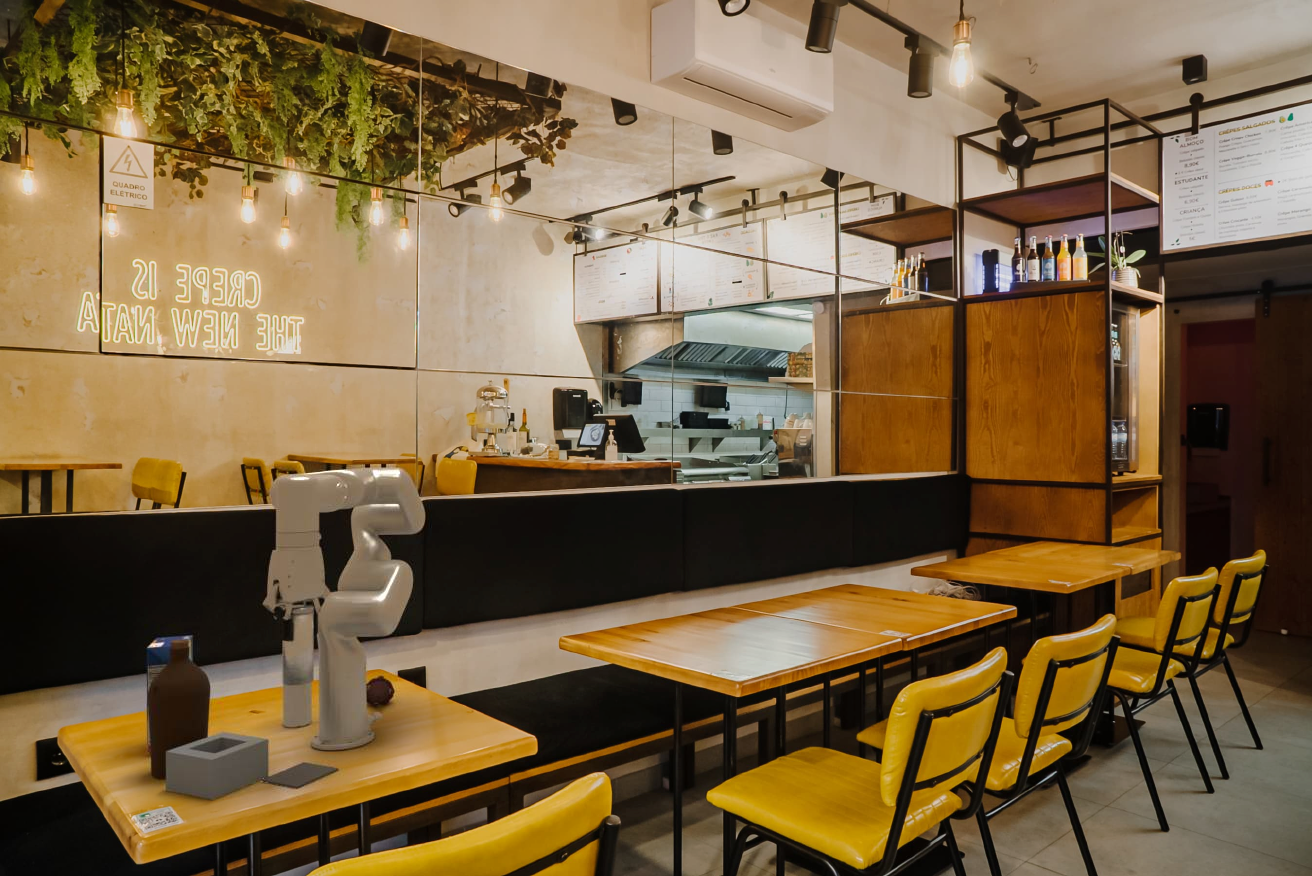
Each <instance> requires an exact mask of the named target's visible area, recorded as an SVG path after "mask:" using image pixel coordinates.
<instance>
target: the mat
mask: <svg viewBox="0 0 1312 876" xmlns="http://www.w3.org/2000/svg"><path fill="white" fill-rule="evenodd" d="M338 771H339V767H335V766H327V765H323V764H315V763H311V762H305V761H303V762H301V763H298V764H296V765H293V766H291V767H288V768H286V769H284V770H282V771H279V772H276V773H275V774H274V773H273V774H272V775H268V777H266V778H264V779H262V780H260V781H263V782H262V783H264V782H268V783H267V784H269V783H273V784H272V785H274V784H278V785H277V786H280V785H282V786H281V787H285V786H286V788H292V789H295V788H296V789H300V788H303V787H304V786H307V785H308V784H312V783H313V782H316V781H318V780H320V779H322V778H325V777H327V776H329V775H332V774H333V773H336V772H338ZM296 789H295V790H296Z"/></svg>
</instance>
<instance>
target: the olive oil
mask: <svg viewBox="0 0 1312 876" xmlns="http://www.w3.org/2000/svg"><path fill="white" fill-rule="evenodd" d="M188 644H189V640H188V639H178V640H173V641H171V642H170V645H171V648H170V661H169V663H168V664H167V665H166V666H165V667H164V668H163V669H162V670H161V671H160V672H159V673H158V674H157V676H156V677H155V678H154V679H153V680H152V682H151V684H150V687H149V691H148V711H149V728H150V748H151V756H150V774H151V777H153V778H155V779H161V780H166V751H169V750H172V749H175V748H177V747H180V746H183V745H186V744H189V743H192V742H195V741H198V740H201V739H204V738H207V737H209V722H210V720H209V719H210V705H211V703H210V701H211V682H210V680H209V676H208V675H207V673H205V671H204V670H203V669H202V668H200V667H199V666H198V665H197V664H196V663H195V662H194V661H193V662H192V661H191V660H190V658H189V652H190V647H189V646H188Z"/></svg>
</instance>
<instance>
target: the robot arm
mask: <svg viewBox="0 0 1312 876" xmlns="http://www.w3.org/2000/svg"><path fill="white" fill-rule="evenodd" d="M416 487H417V486H416V485H415V483H414V481H413V479H412V477H411V476H410V474H409V473H408V472H407V471H406V470H404V469H403V468H402V467H361V468H360V467H359V468H348V469H347V468H346V469H345V468H344V469H334V470H324V471H319V472H308V473H306V472H305V473H292V474H281V475H279V476H278V477H276V478H275V479H274V480H273V482H272V483H271V486H270V489H269V500H270V503H271V505H272V507H273V508H274V509H275V517H276V518H275V522H276V523H275V531H276V532H275V549H273V550H272V552H271V555H270V560H269V565H268V573H267V575H268V576H267V594H266V595H267V596H266V597H265V599H264V600H263V602H262V606H263V607H265V608H266V609H267V610H268V611H269V613H270V614H272V615H273V618H274V619H275V620H277V622H276V624H277V630H276V631H277V634H276V636H277V637H276V638H277V641H281V642H283V641H292V639H293V621H292V619H289V618H290V614H291V610H292V606H294V604H295V603H302V602H303V605H313V606H314V636H316V639H317V648H318V650H317V651H318V733H317V734H315V735H314V736H312V737H311V739H310V745H311V747H312V748H314V749H317V750H320V751H321V750H323V751H340V750H343V751H344V750H349V749H354V748H358V747H360V746H361V747H362V746H364V745H366V744H368V743H370V742H372V741H373V740H374V738H375V731H374V730H373V729H371V728H370V726H371V725H372V724H373V723H376V722H379V721H381V720H382V713H381V712H379V711H376V712H374V713H371V714H370V713H367V702H366V684H367V656H366V651H365V649H364V647H363V646H362V643H360V641H359V640H358V637H361V638H362V637H363V638H365V637H366V638H368V637H369V638H370V637H371V638H374V637H386V636H389V635H391V634H392V633H393V632H394V631H395V630H396V629H397V626H398V625H399V623H400V620H401V618H402V616H403V613H404V611H405V609H406V606H407V604H408V602H409V599H410V598H411V594H412V591H413V584H414V575H413V574H414V573H413V570H412V568H411V566H410V565H409V564H408V563H407V562H406V561H404V560H401V559H392V555H391V552H390V549H389V548H388V546H387V545H386V544H385V542H384V541H383V539H381V538H380V537H379V535H381V536H382V535H383V536H384V535H414V534H417V533H419V532H420V531H422V529H423V527H424V525H425V521H426V511H425V507H424V504H423V502H422V499H421V496H420V495H419V492H418V489H417V488H416ZM352 508H353V510H352V512H351V515H350V516H351V517H350V520H351V521H350V524H351V525H350V526H351V534H352V543H353V547H354V548H353V550H354V551H353V552H352V555H351V556H350V558H349V560H348V561H347V564H346V565H345V567H344V569H343V570H342V572H341V574H340V576H339V579H338V583H337V591H332V592H331V591H330V588H328V586H327V585H326V583H325V582H326V581H325V578H326V577H325V565H324V557H323V553H322V552H323V551H322V547H321V546H320V540H321V539H322V535H321V533H320V513H330V512H335V511H338V510H346V509H352ZM283 607H285V609H284V610H283Z"/></svg>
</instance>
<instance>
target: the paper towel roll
mask: <svg viewBox="0 0 1312 876" xmlns="http://www.w3.org/2000/svg"><path fill="white" fill-rule="evenodd" d="M312 699H313V697H312V682H310V683H307V684H302V685H284V684H283V683H282V726H283V727H285V726H286V727H285V728H298V727H297V726H300V727H303V726H308V725H310V724H311V723H312V722H313V721H312V720H313V719H312V715H313V714H312V712H313V711H312V707H313V706H312V701H313V700H312ZM307 724H308V725H307Z"/></svg>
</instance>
